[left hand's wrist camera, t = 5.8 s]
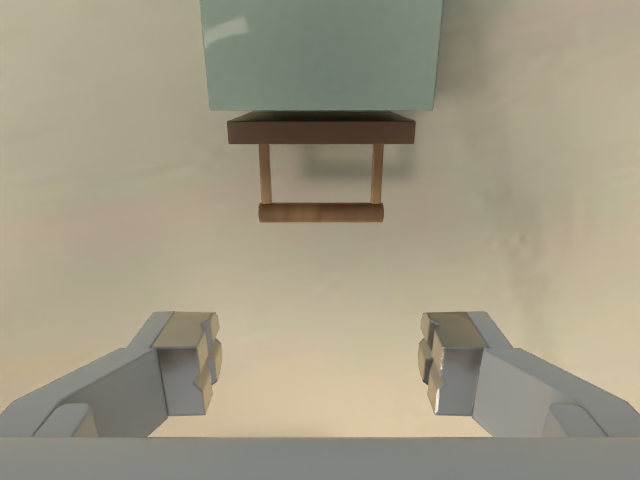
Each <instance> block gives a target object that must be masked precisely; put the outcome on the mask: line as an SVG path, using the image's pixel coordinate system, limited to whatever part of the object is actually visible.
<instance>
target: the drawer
mask: <svg viewBox="0 0 640 480" xmlns="http://www.w3.org/2000/svg"><path fill="white" fill-rule="evenodd" d="M415 124H416V122H415V121H413V120H411V119H408V118H406V117H403V116H400V115H398V114H395V113H392V112H390V111H253V112H250V113H248V114H245V115H242V116H240V117H237V118H235V119H232V120H229V121H227V128H228V141H229V144H259V158H260V177H261V196H262V203H260V204H259V221H260V222H382V221H383V218H384V207H383V203H381V184H382V166H383V147H384V144H414V137H415ZM269 144H373V155H372V178H371V200H370V201H371V203H271V202H272V193H271V170H270V147H269Z"/></svg>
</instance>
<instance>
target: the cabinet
mask: <svg viewBox="0 0 640 480" xmlns="http://www.w3.org/2000/svg"><path fill="white" fill-rule="evenodd" d="M200 9H201V20H202V31H203V42H204V53H205V64H206V75H207V86H208V97H209V108H210V110H433V107H434V96H435V85H436V74H437V64H438V53H439V42H440V31H441V21H442V10H443V0H200Z"/></svg>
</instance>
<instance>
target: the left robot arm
mask: <svg viewBox="0 0 640 480" xmlns="http://www.w3.org/2000/svg"><path fill="white" fill-rule="evenodd" d="M218 330H219V321H218V316H217V314H216V312H175V311H161V312H153V313H152V314H151V316H150V317H149V318H148V320H147V321H146V322H145V324H144V325H143V326H142V328H141V329H140V330H139V332H138V333H137V334H136V336H135V337H134V338H133V340H132V341H131V342H130V344H129V345H128V346H127V348H119V349H117V350H115V351H113V352H111V353H109V354H107V355H105V356H103V357H101V358H99V359H97V360H95V361H93V362H91V363H89V364H87V365H85V366H83V367H81V368H79V369H77V370H75V371H73V372H71V373H69V374H67V375H65V376H63V377H61V378H59V379H57V380H55V381H53V382H51V383H49V384H47V385H45V386H43V387H41V388H39V389H37V390H35V391H33V392H31V393H29V394H27V395H25V396H23V397H21V398H19V399H17V400H15V401H13V402H12V403H11V404H10V405H9V406H8V407H7V408H6V409H5V410H4V411H3V412H2V413H1V414H0V480H640V414H639V413H638V412H637V411H636V410H635V409H634V408H633V407H632V406H631V405H630V404H629V403H628V402H627V401H625V400H623V399H621V398H619V397H617V396H615V395H613V394H611V393H609V392H607V391H605V390H603V389H601V388H599V387H597V386H595V385H593V384H591V383H589V382H587V381H585V380H583V379H581V378H579V377H577V376H575V375H573V374H571V373H569V372H567V371H565V370H563V369H561V368H559V367H557V366H555V365H553V364H551V363H549V362H547V361H545V360H543V359H541V358H539V357H537V356H535V355H533V354H531V353H529V352H527V351H525V350H523V349H521V348H513V347H512V345H511V344H510V343H509V341H508V340H507V339H506V337H505V336H504V335H503V333H502V332H501V331H500V329H499V328H498V327H497V325H496V324H495V323H494V321H493V320H492V319H491V317H490V316H489V315H488V313H486V312H484V311H473V312H432V313H423V316H422V319H421V330H422V333H423V335H424V338H423V339H422V341H421V342H420V343H419V350H418V361H419V370H420V374H421V377H422V381H423V382H424V383H426V384H427V385H428V393H427V395H428V398H429V400H430V403H431V406H432V409H433V412H434V414H435V415H448V416H472V418H473V419H474V420H475V421H476V422H477V423H478V424H479V425H481V426H482V427H483V428H484V429H485V430H486V431H487V432H488V433H489V434H491V435H492V436H493V437H147V436H148V435H150V434H151V433H152V432H153V431H154V430H155V429H156V428H157V427H159V426H160V425H161V424H162V423H163V422H164V421H165V420H166V419H167V418H168V416H191V415H205V414H206V412H207V409H208V406H209V403H210V400H211V398H212V395H213V393H212V385H213V384H214V383H216V382H217V380H218V377H219V374H220V369H221V362H222V349H221V343H220V342H219V341H218V340H217V338H216V335H217V333H218Z"/></svg>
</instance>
